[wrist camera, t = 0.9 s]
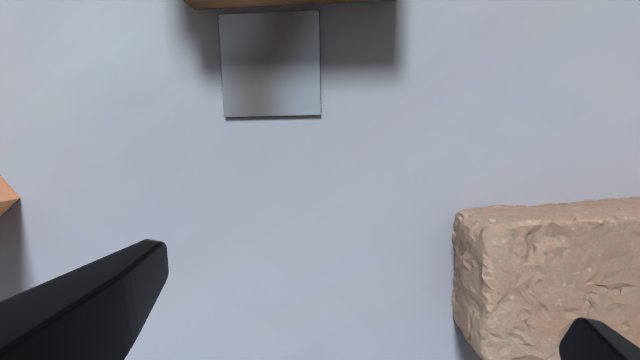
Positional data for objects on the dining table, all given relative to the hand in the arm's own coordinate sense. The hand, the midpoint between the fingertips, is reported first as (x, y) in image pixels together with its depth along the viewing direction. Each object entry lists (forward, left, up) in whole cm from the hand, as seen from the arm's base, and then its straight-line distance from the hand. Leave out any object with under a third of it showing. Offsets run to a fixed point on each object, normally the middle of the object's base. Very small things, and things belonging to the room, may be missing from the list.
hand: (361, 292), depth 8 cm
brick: (+6, -14, -15) cm, 21 cm away
